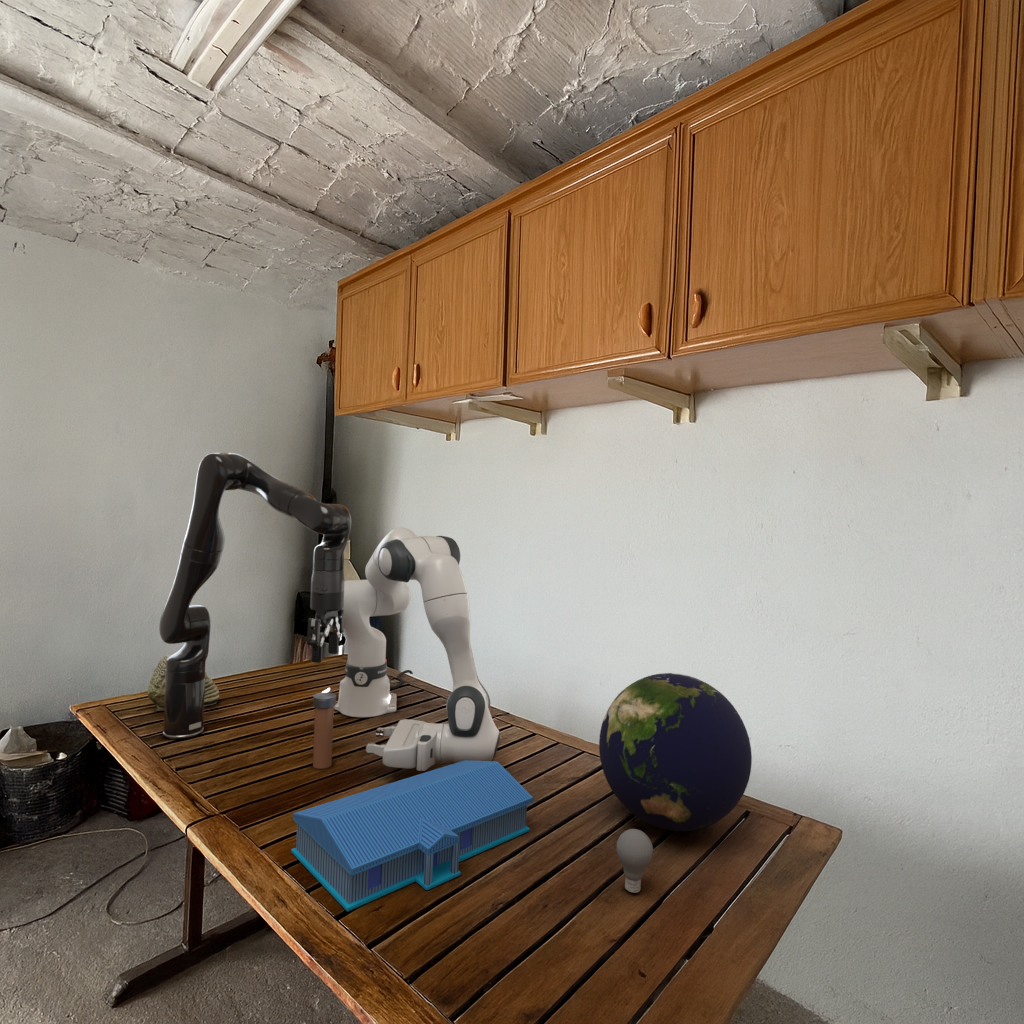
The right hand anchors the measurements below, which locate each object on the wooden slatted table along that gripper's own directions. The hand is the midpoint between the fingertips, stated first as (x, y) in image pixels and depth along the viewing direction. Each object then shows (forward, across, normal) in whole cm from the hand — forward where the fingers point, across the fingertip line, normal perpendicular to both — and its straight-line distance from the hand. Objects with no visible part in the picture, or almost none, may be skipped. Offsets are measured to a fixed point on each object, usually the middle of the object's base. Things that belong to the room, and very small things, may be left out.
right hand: (371, 739), depth 149 cm
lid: (+12, 0, -10) cm, 15 cm away
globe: (-66, +19, +6) cm, 69 cm away
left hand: (+12, 0, -19) cm, 22 cm away
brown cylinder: (+12, 0, +7) cm, 13 cm away
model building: (-17, +32, +6) cm, 37 cm away
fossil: (+63, -34, +7) cm, 73 cm away
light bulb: (-54, +43, +6) cm, 69 cm away
